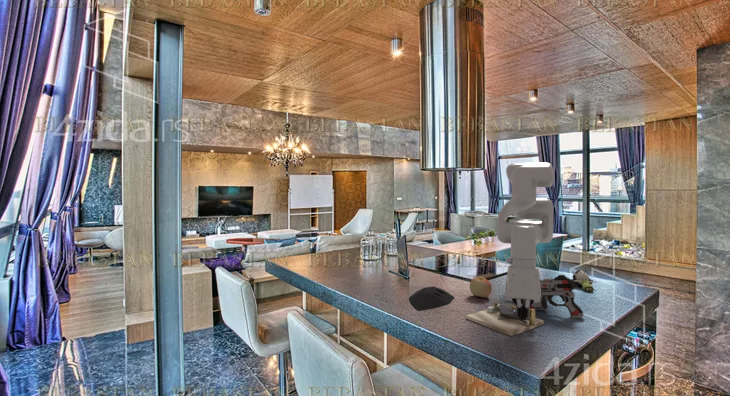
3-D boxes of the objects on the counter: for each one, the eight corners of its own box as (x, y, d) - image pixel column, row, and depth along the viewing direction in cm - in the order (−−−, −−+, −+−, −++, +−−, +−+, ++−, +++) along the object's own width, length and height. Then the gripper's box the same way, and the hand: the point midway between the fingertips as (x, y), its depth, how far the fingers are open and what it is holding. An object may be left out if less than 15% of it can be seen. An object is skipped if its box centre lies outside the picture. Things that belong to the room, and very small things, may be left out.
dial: (494, 312, 128) (494, 298, 128) (512, 309, 130) (512, 296, 130) (524, 327, 114) (524, 311, 114) (543, 324, 117) (543, 309, 116)
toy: (578, 284, 157) (567, 267, 171) (576, 298, 159) (565, 279, 173) (604, 285, 155) (591, 268, 169) (602, 299, 157) (589, 281, 171)
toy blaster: (523, 313, 140) (516, 275, 141) (584, 316, 127) (576, 273, 128) (520, 316, 137) (513, 277, 138) (583, 319, 124) (574, 275, 125)
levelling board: (498, 309, 136) (498, 298, 135) (543, 324, 120) (544, 312, 120) (466, 318, 126) (466, 306, 126) (511, 336, 111) (511, 322, 111)
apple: (476, 292, 157) (476, 274, 157) (495, 297, 151) (495, 278, 151) (465, 296, 151) (465, 278, 151) (485, 301, 145) (485, 282, 145)
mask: (396, 297, 137) (420, 279, 164) (396, 309, 137) (420, 289, 164) (440, 304, 129) (458, 284, 156) (440, 316, 129) (458, 294, 156)
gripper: (500, 264, 114) (499, 320, 114) (551, 266, 110) (550, 324, 111) (497, 259, 121) (496, 313, 122) (544, 261, 118) (544, 316, 118)
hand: (522, 318), depth 116 cm, fingers closed
